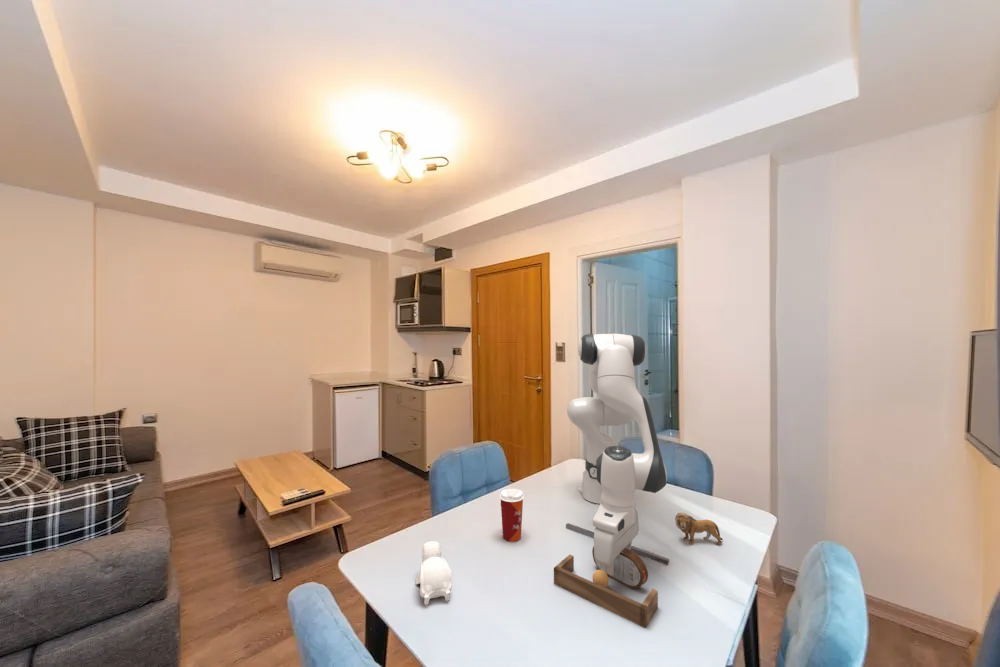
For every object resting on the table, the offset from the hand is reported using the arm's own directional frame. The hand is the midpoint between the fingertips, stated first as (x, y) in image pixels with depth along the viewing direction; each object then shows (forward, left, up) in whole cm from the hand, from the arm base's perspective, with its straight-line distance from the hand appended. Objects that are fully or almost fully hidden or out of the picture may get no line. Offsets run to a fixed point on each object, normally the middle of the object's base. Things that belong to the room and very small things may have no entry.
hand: (618, 564), depth 101 cm
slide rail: (-15, -8, -3) cm, 17 cm away
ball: (+6, -2, -1) cm, 7 cm away
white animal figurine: (+33, -34, -4) cm, 48 cm away
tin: (0, 0, -4) cm, 4 cm away
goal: (+9, 0, -3) cm, 10 cm away
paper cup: (+2, -34, -4) cm, 34 cm away
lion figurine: (-32, +11, -4) cm, 34 cm away
